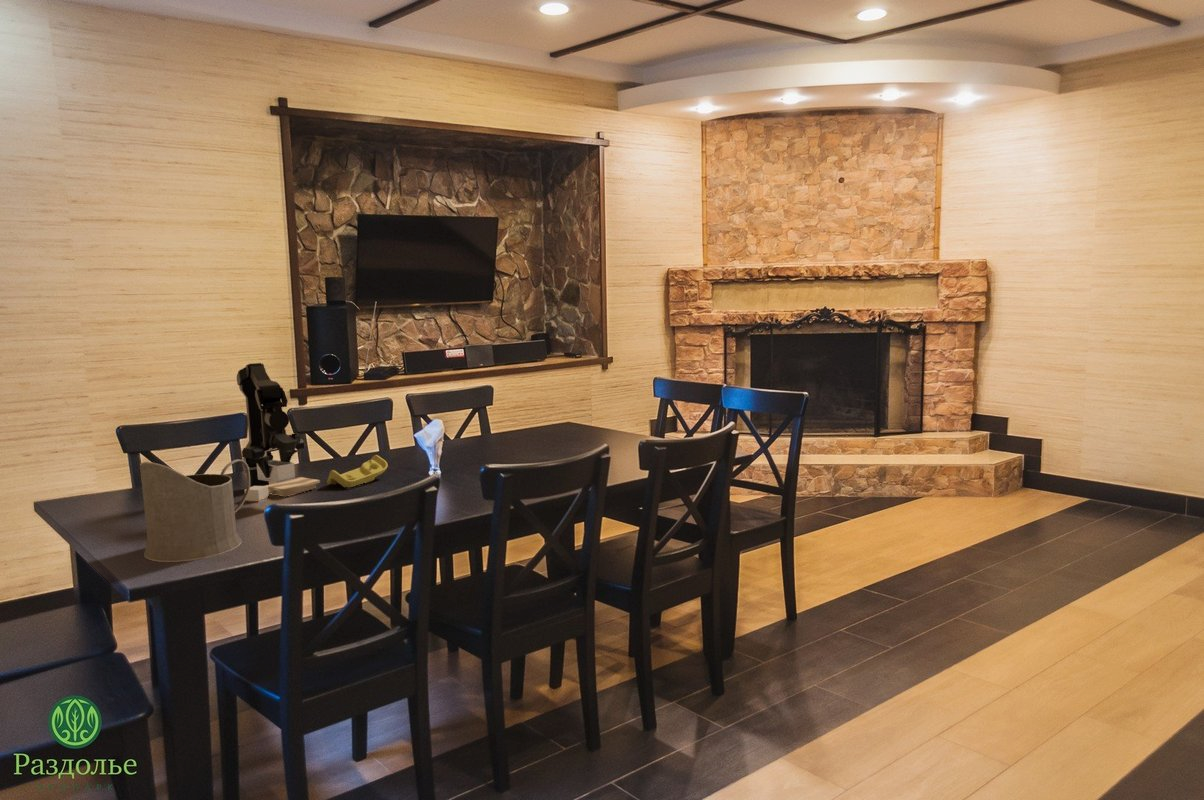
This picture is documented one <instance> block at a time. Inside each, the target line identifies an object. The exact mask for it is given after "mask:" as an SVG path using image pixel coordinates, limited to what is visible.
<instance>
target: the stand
mask: <svg viewBox="0 0 1204 800" xmlns="http://www.w3.org/2000/svg"><path fill="white" fill-rule="evenodd" d="M319 483H321V480H320V479H315V478H308V477H303V476H299V477H295V479H292V480H288V481H284V482H280V483H277V482H273V483H271V484H270V483H269V485H266V486H268V492H269V493H272V494H277V495H282V496H288V495H291V494H294V493H298V492H301V491H304V490H309V489H313V488H316V489H317V484H319Z"/></svg>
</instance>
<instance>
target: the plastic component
mask: <svg viewBox="0 0 1204 800" xmlns="http://www.w3.org/2000/svg"><path fill="white" fill-rule="evenodd" d="M388 467H389V465H388V462H387V461H386V460H385V459H384V458H382V457H381V456H379V455H378V454H376V455H373V456H372V457H371V458H370V459H369V460H367V461H365V462H363V463H362V464H361V466H360V467H357V468H355V469H352V470H349V471H346V472H344V473H341V474H340V473H339V472H338V471H336V470H334V469H332V470H330V472H329V475H328V477H327V481H326V483H327V484H328V485H329V484H334V483H337V482H338V483H337V484H339V485H340V486H342V487H343V488H345V487H353V486H356V485H359V484H362V485H364V484H363V483H365V484H367V483H370V482H372V481H374V480H375V479H376V478H377V477H378V476H380V475H383V473H384V472H386V470H387V468H388ZM375 477H376V478H375ZM334 485H335V484H334ZM359 486H360V485H359Z"/></svg>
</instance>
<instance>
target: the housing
mask: <svg viewBox="0 0 1204 800" xmlns="http://www.w3.org/2000/svg"><path fill="white" fill-rule="evenodd" d="M268 467H269V478H266V477H265V476H264V474H263V472H262V470H261V469H260V467H259V466H258V464H257V474H258V480H264V481H269V482H272V483H280V482H284V481H288V480H292V479H295V478H296V473H295V472H296V471H295V462H291V461H290V462H285V461H280V460H277V459H273V460H270V461H268Z"/></svg>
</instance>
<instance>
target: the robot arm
mask: <svg viewBox="0 0 1204 800" xmlns="http://www.w3.org/2000/svg"><path fill="white" fill-rule="evenodd" d="M236 383H237V386H239V390H240V392H241V393H242V394H243V395H244V398H245V406H246V417H247V418H246V420H247V429H248V442H247V444H246V445H245V447H243V448H242V451H241V456H242V460H244V461H245V462H246V463H247V465H248V467H249V471H250V487H252V486H266V485H270V481H264V480H258V474H257V464H258V466H259V467H260V469H261V470H262V472H263V474H264V476H265V477H266V478H269V467H268V461H270V460H274V455H273V454H272V452H277V451H278V454H279V459H280V460H279V461H285V462H291V460H292V457H293V456H294V454H296V453H298V452H299V451H298V450H301V449H305V448H306V444H305V441H304V440H303V439H302V438H301V434H300V433H298V432H295V433H292V434H287V431H286V428H287V427H288V425H289V423H290V418H289V415H288V413H286V412H285V411H283V408H286V407H288V399H287V395H286V392H285V390H284V388H283V387H282V386H281V385H280V383H278V382H277V381H273V380H271V377H270V376H269V374H268V372H267V370H266V368H265V365H264V363H262V362H256V363H255V362H254V363H253V362H252V363H248V364H246V365H245V367H243V368H241V369H240V370H238V372H237V374H236ZM241 463H242V462H241ZM241 466H242V472H244V473H246V468H245V466H244V464H243V463H242V464H241ZM246 474H247V473H246ZM245 488H247V486H246V487H244V489H245Z"/></svg>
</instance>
